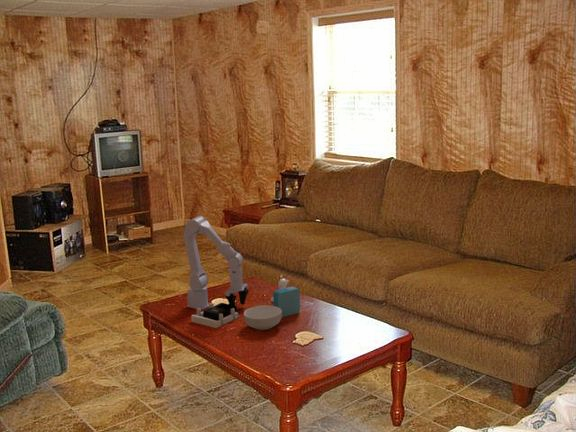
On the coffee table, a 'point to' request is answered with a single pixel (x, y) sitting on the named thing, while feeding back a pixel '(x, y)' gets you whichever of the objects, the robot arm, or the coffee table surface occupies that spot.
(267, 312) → the cereal bowl
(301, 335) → the coffee table surface
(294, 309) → the teal box
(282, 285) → the white creature statuette
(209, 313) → the battery charger
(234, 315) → the dock
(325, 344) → the coffee table surface
